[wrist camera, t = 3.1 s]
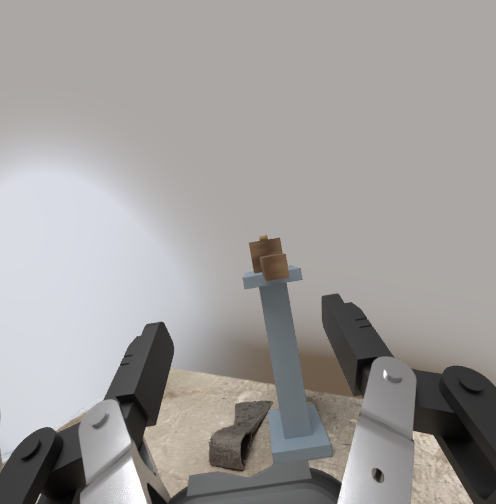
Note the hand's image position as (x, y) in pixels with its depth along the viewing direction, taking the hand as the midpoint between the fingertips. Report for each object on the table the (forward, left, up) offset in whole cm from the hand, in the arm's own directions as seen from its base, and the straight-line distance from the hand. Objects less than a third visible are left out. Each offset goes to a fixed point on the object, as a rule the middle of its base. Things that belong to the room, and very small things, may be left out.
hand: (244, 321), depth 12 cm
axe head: (-7, +38, -33) cm, 51 cm away
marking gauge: (+3, +29, 0) cm, 29 cm away
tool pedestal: (+4, +34, -32) cm, 47 cm away
